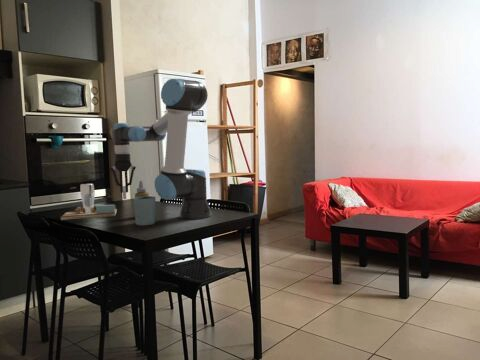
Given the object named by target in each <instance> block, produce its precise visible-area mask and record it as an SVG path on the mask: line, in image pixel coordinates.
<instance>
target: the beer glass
mask: <svg viewBox="0 0 480 360" xmlns="http://www.w3.org/2000/svg"><path fill="white" fill-rule="evenodd" d="M79 186H80V198H81V202H82V207H83V213H94V212H95V209H94V206H95V204H94V203H95V195H96V194H95V193H96V192H95V185H94V183H81V184H80V185H79Z"/></svg>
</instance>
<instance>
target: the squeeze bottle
mask: <svg viewBox="0 0 480 360" xmlns="http://www.w3.org/2000/svg"><path fill="white" fill-rule="evenodd" d="M145 196H149V193H148V192H147V188H146V187H145V186H144V182H143V180H139V185H138V187H137V188H136V193H135V194H134V198H135V197H145Z"/></svg>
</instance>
